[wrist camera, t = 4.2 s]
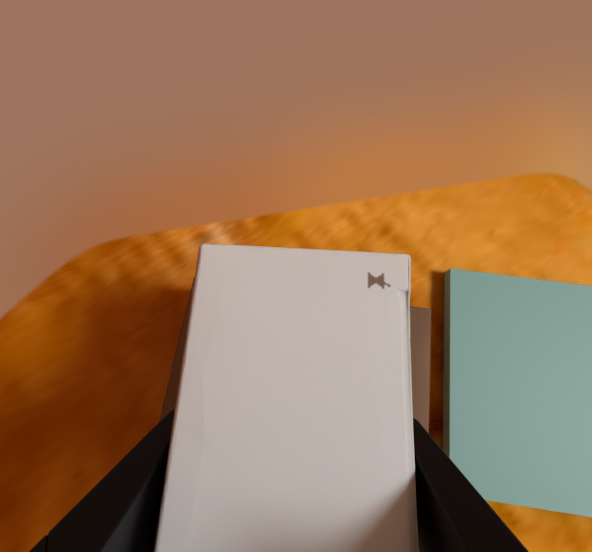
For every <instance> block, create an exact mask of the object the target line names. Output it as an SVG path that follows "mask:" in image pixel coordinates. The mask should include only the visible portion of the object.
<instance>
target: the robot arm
mask: <svg viewBox="0 0 592 552" xmlns="http://www.w3.org/2000/svg"><path fill="white" fill-rule="evenodd" d="M174 413H175V409H173V410H171V411H170V412H169V413H168V414H167V415H166V416H165V417H164V418H163V419H162V420H161V421H160V422H159V423H158V424H157V425H156V426H155V427H154V428H153V429H152V430H151V431H150V432H149V433H148V434H147V435H146V436H145V437H144V438H143V439H142V440H141V441H140V442H139V443H138V444H137V445H136V446H135V447H134V448H133V449H132V450H131V451H130V452H129V453H128V454H127V455H126V456H125V457H124V458H123V459H122V460H121V461H120V462H119V463H118V464H117V465H116V466H115V467H114V468H113V469H112V470H111V471H110V472H109V473H108V474H107V475H106V476H105V477H104V478H103V479H102V480H101V481H100V482H99V483H98V484H97V485H96V486H95V487H94V488H93V489H92V490H91V491H90V492H89V493H88V494H87V495H86V496H85V497H84V498H83V499H82V500H81V501H80V502H79V503H78V504H77V505H76V506H75V507H74V508H73V509H72V510H71V511H70V512H69V513H68V514H67V515H66V516H65V517H64V518H63V519H62V520H61V521H60V522H59V523H58V524H57V525H56V526H55V527H54V528H53V529H52V530H51V531H50V532H49V534H48V535H46V536H44V537H43V538H42V539H41V540H40V541H39V542H38V543H37V544H36V545H35V546H34V547H33V548H32V549H31V550H30V551H29V552H153V551H154V544H155V537H156V531H157V524H158V518H159V511H160V505H161V498H162V492H163V486H164V480H165V473H166V467H167V460H168V452H169V446H170V440H171V433H172V426H173V419H174ZM413 434H414V457H415V482H416V507H417V527H418V545H419V552H528V550H527V549H526V548H525V547H524V546H523V544H522V543H521V542H520V541H519V540H518V539H517V537H516V536H515V535H514V534H513V533H512V531H511V530H510V529H509V528H508V527H507V525H506V524H505V523H504V522H503V521H502V520H501V518H500V517H499V516H498V515H497V514H496V512H495V511H494V510H493V509H492V508H491V507H490V505H489V504H488V503H487V502H486V501H485V499H484V498H483V497H482V496H481V495H480V494H479V492H478V491H477V490H476V489H475V488H474V486H473V485H472V484H471V483H470V482H469V480H468V479H467V478H466V477H465V476H464V475H463V473H462V472H461V471H460V470H459V469H458V467H457V466H456V465H455V464H454V463H453V462H452V460H451V459H450V458H449V457H448V456H447V454H446V453H445V452H444V451H443V450H442V449H441V447H440V446H439V445H438V444H437V443H436V441H435V440H434V439H433V438H432V437H431V435H430V434H429V433H428V432H427V431H426V430H425V428H424V427H423V426H422V425H421V424H420V422H419V421H418V420H417V419H415V418H413Z"/></svg>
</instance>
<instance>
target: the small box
mask: <svg viewBox="0 0 592 552" xmlns="http://www.w3.org/2000/svg"><path fill="white" fill-rule="evenodd" d="M410 289H411V257H410V256H409V255H408V254H398V253H376V252H355V251H338V250H320V249H299V248H280V247H263V246H243V245H215V244H201V245H200V247H199V254H198V260H197V267H196V273H195V280H194V286H193V293H192V300H191V307H190V314H189V320H188V326H187V333H186V340H185V346H184V353H183V359H182V366H181V374H180V380H179V386H178V393H177V400H176V407H175V413H174V419H173V426H172V433H171V440H170V446H169V452H168V460H167V467H166V473H165V480H164V486H163V492H162V498H161V505H160V511H159V518H158V524H157V531H156V537H155V544H154V551H153V552H419V545H418V527H417V507H416V482H415V457H414V434H413V407H412V377H411V346H410Z"/></svg>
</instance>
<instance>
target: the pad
mask: <svg viewBox="0 0 592 552" xmlns="http://www.w3.org/2000/svg"><path fill="white" fill-rule="evenodd" d="M443 451H444V452H445V453H446V454H447V456H448V457H449V458H450V459H451V460H452V462H453V463H454V464H455V465H456V466H457V467H458V469H459V470H460V471H461V472H462V473H463V475H464V476H465V477H466V478H467V479H468V480H469V482H470V483H471V484H472V485H473V486H474V488H475V489H476V490H477V491H478V492H479V494H480V495H481V496H482V497H483V498H484V499H485V500H488V501H495V502H501V503H507V504H513V505H519V506H526V507H532V508H538V509H544V510H550V511H557V512H563V513H569V514H575V515H581V516H588V517H592V286H587V285H579V284H571V283H563V282H555V281H547V280H539V279H531V278H523V277H515V276H507V275H499V274H491V273H483V272H475V271H467V270H459V269H451V268H450V269H449V270H448V271H446V272H445V273H444V370H443Z"/></svg>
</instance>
